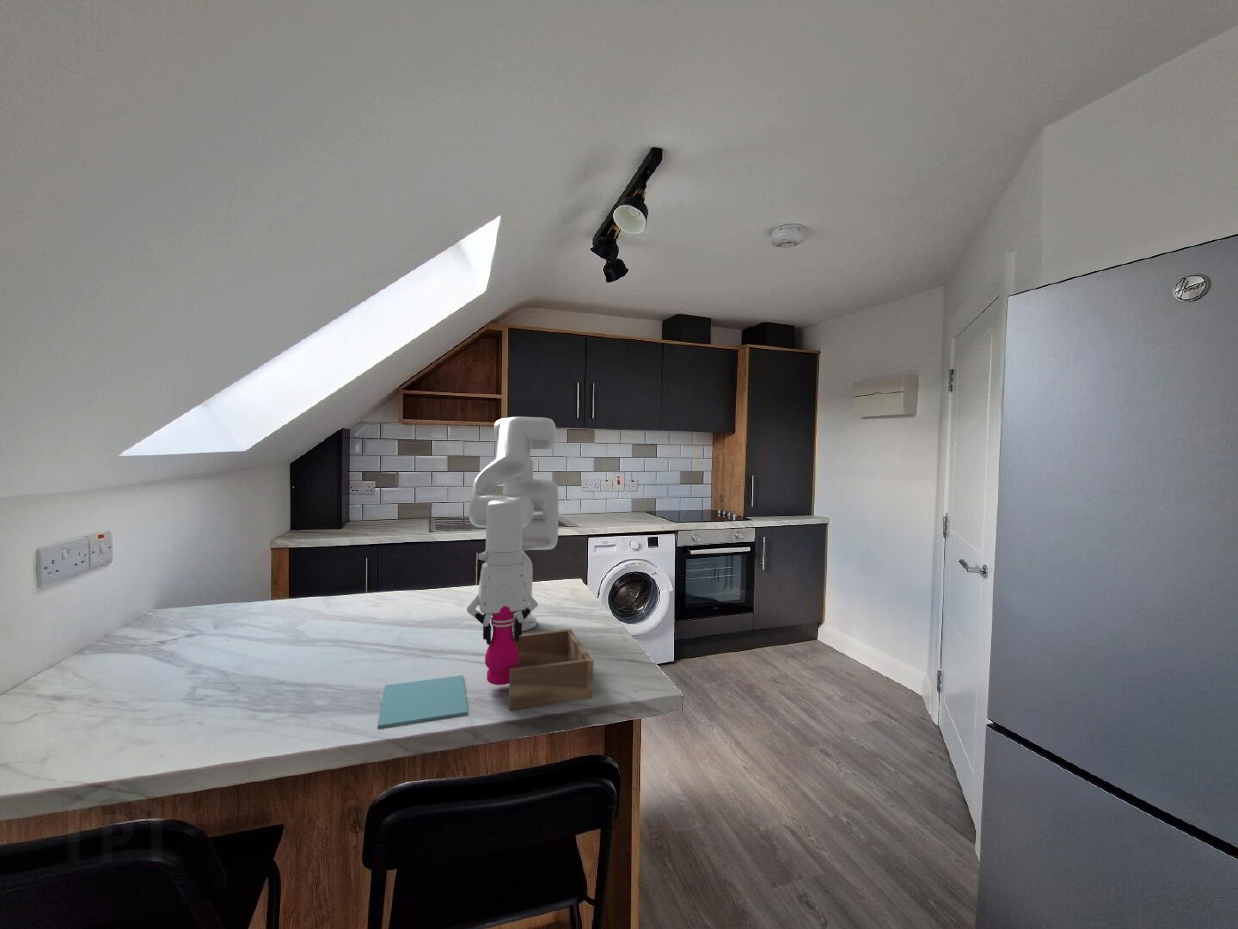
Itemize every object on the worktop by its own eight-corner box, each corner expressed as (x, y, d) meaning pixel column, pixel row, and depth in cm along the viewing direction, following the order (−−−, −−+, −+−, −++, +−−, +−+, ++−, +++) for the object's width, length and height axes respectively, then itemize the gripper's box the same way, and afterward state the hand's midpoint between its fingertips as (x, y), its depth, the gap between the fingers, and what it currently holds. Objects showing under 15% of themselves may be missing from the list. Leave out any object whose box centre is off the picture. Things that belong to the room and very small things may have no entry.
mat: (385, 687, 108) (385, 685, 108) (463, 677, 114) (463, 675, 114) (377, 728, 93) (377, 725, 93) (467, 714, 99) (467, 711, 99)
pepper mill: (524, 674, 111) (526, 584, 110) (507, 689, 104) (509, 594, 103) (496, 668, 113) (497, 580, 112) (477, 682, 106) (479, 589, 105)
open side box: (498, 670, 117) (499, 636, 117) (570, 661, 123) (570, 629, 123) (509, 710, 100) (510, 671, 100) (592, 697, 106) (593, 660, 106)
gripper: (463, 564, 101) (462, 652, 102) (547, 559, 107) (545, 642, 108) (460, 555, 108) (459, 638, 109) (539, 551, 114) (538, 630, 115)
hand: (502, 639), depth 108 cm, fingers closed on pepper mill, 5 cm apart
